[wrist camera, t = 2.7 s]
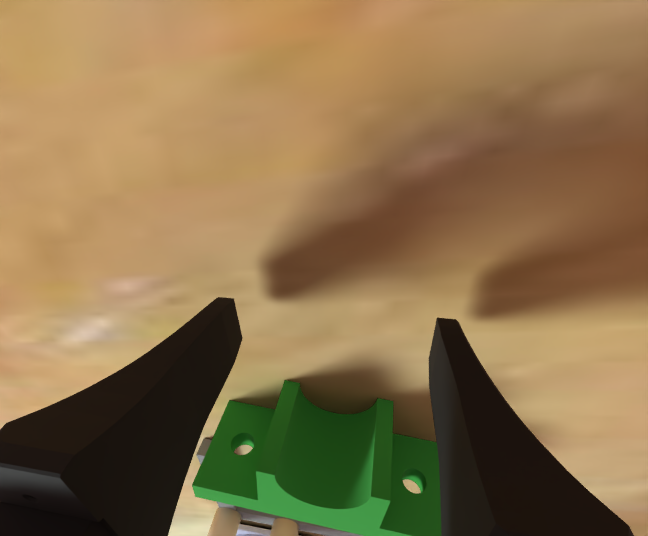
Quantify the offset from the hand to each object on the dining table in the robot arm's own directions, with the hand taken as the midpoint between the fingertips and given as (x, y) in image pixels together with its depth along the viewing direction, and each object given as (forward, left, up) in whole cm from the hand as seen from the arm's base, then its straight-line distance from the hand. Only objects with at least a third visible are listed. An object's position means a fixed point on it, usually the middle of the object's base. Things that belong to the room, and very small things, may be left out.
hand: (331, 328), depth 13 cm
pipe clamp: (-7, 0, -2) cm, 8 cm away
